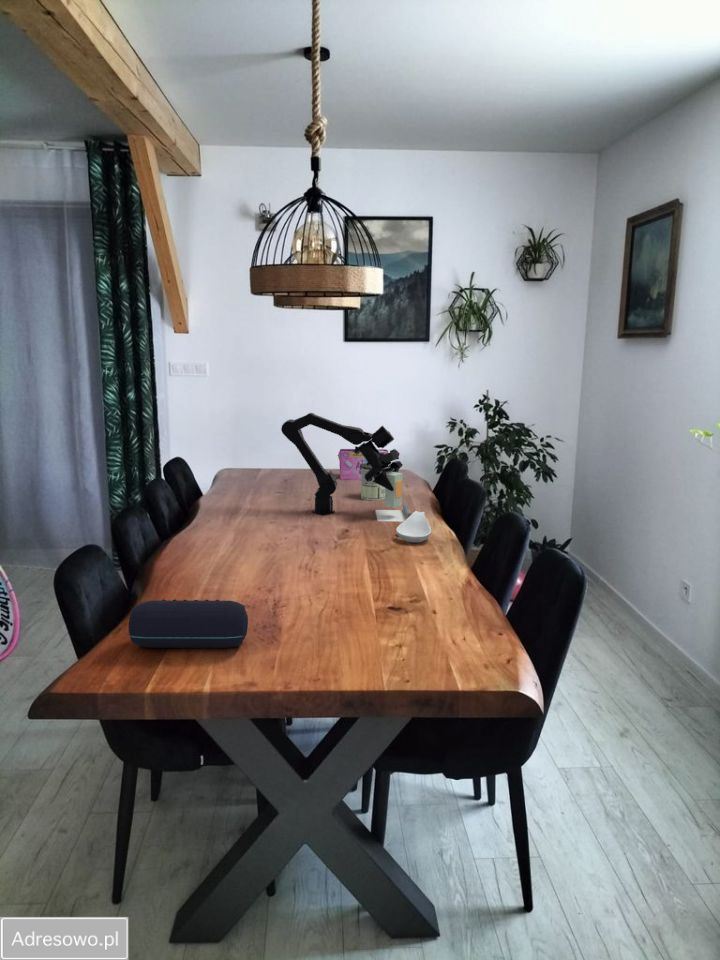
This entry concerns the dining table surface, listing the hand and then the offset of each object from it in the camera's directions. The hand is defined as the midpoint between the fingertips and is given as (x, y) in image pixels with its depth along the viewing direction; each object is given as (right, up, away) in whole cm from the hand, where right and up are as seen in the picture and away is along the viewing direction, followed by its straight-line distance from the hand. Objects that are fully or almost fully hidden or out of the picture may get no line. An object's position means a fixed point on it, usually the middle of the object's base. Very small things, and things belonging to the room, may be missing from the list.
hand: (397, 489), depth 245 cm
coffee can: (-8, -4, +36) cm, 37 cm away
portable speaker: (-51, -33, -100) cm, 117 cm away
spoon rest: (+5, -16, -16) cm, 23 cm away
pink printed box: (-12, +4, +74) cm, 75 cm away
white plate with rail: (-1, -11, +5) cm, 12 cm away
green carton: (-1, -6, +2) cm, 7 cm away
